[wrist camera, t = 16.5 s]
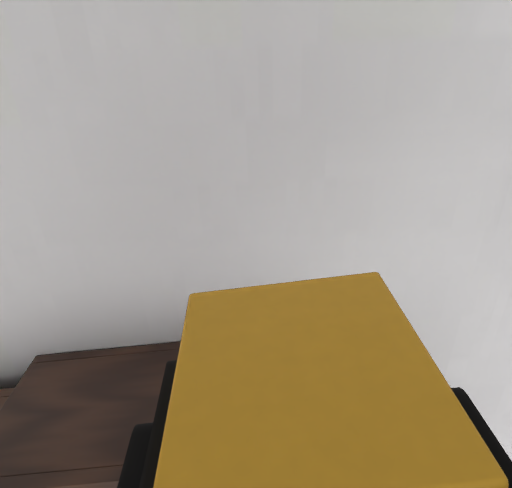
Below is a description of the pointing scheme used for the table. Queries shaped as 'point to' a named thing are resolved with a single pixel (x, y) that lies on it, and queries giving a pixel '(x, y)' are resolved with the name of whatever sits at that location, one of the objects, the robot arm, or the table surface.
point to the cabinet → (79, 415)
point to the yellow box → (314, 395)
